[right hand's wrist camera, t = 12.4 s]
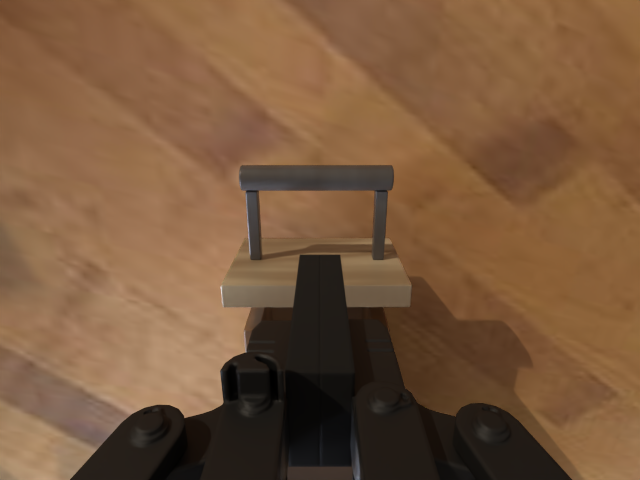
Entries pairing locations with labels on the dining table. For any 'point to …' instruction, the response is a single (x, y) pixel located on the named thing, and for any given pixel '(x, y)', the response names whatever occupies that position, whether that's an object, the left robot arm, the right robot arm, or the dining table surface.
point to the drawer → (315, 247)
